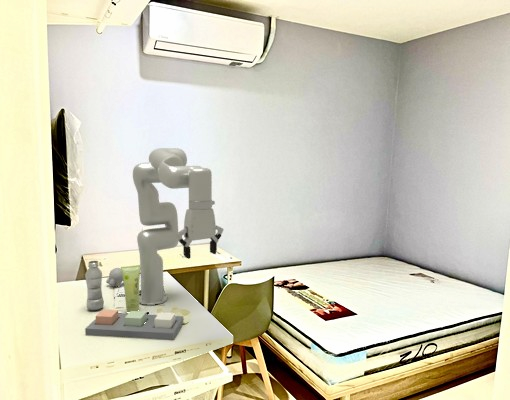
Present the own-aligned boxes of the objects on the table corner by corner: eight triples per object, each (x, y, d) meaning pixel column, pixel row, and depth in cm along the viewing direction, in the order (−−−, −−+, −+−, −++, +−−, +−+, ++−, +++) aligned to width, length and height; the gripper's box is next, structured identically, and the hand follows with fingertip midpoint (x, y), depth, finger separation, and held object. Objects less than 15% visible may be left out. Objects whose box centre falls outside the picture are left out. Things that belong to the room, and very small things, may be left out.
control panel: (103, 318, 161) (102, 312, 160) (183, 322, 158) (183, 316, 158) (85, 335, 147) (85, 328, 147) (173, 340, 144) (173, 333, 144)
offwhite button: (159, 321, 155) (159, 312, 154) (175, 321, 154) (175, 313, 154) (154, 328, 149) (154, 319, 148) (170, 329, 148) (170, 320, 148)
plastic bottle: (98, 313, 165) (96, 265, 162) (83, 311, 167) (81, 263, 164) (107, 306, 172) (105, 260, 169) (92, 305, 173) (90, 259, 170)
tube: (131, 316, 163) (130, 268, 160) (122, 313, 166) (120, 266, 163) (142, 311, 168) (140, 264, 165) (133, 308, 170) (131, 262, 168)
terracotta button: (103, 318, 156) (102, 309, 156) (118, 318, 156) (118, 310, 155) (95, 325, 150) (95, 316, 150) (111, 325, 150) (111, 316, 149)
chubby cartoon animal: (132, 290, 197) (138, 273, 198) (108, 286, 190) (115, 268, 190) (127, 286, 203) (133, 269, 203) (103, 281, 196) (110, 264, 196)
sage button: (131, 319, 155) (131, 310, 155) (146, 320, 155) (146, 311, 154) (125, 326, 150) (124, 317, 149) (141, 327, 149) (140, 318, 149)
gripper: (217, 201, 144) (217, 249, 147) (171, 205, 134) (171, 256, 137) (228, 204, 138) (228, 254, 141) (181, 209, 128) (181, 262, 131)
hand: (200, 255), depth 139 cm, fingers open, 9 cm apart
